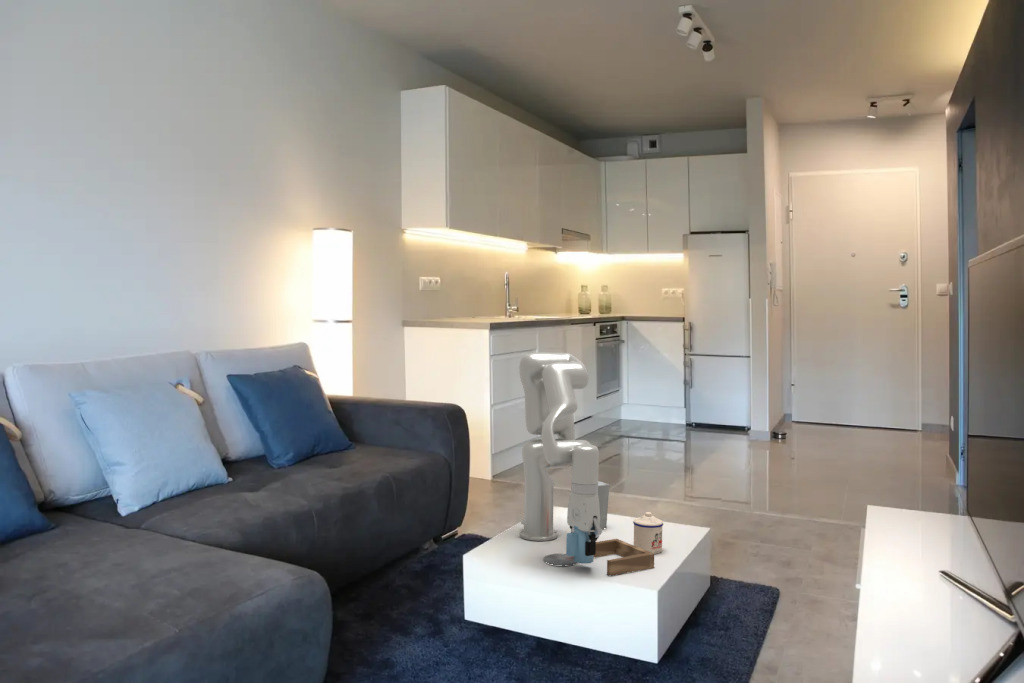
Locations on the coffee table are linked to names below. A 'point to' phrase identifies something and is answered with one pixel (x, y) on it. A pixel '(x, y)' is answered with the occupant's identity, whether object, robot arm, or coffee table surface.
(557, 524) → the coffee table surface
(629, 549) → the open wooden frame
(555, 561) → the coaster
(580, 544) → the jug
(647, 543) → the teacup with lid
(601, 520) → the skincare box
